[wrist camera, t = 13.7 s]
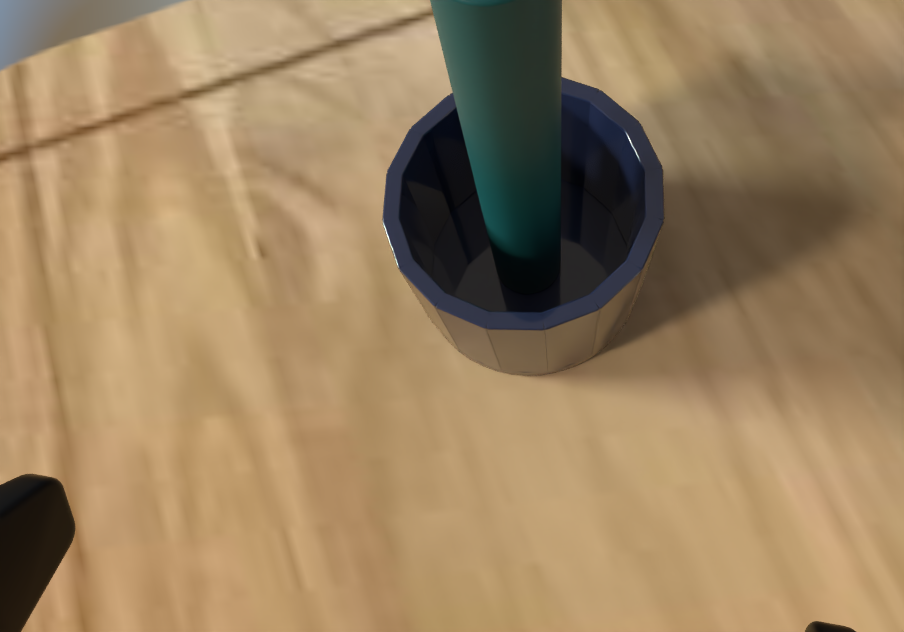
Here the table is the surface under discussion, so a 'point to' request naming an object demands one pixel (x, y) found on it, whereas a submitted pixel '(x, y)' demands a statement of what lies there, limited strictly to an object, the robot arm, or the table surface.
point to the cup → (582, 237)
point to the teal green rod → (511, 126)
